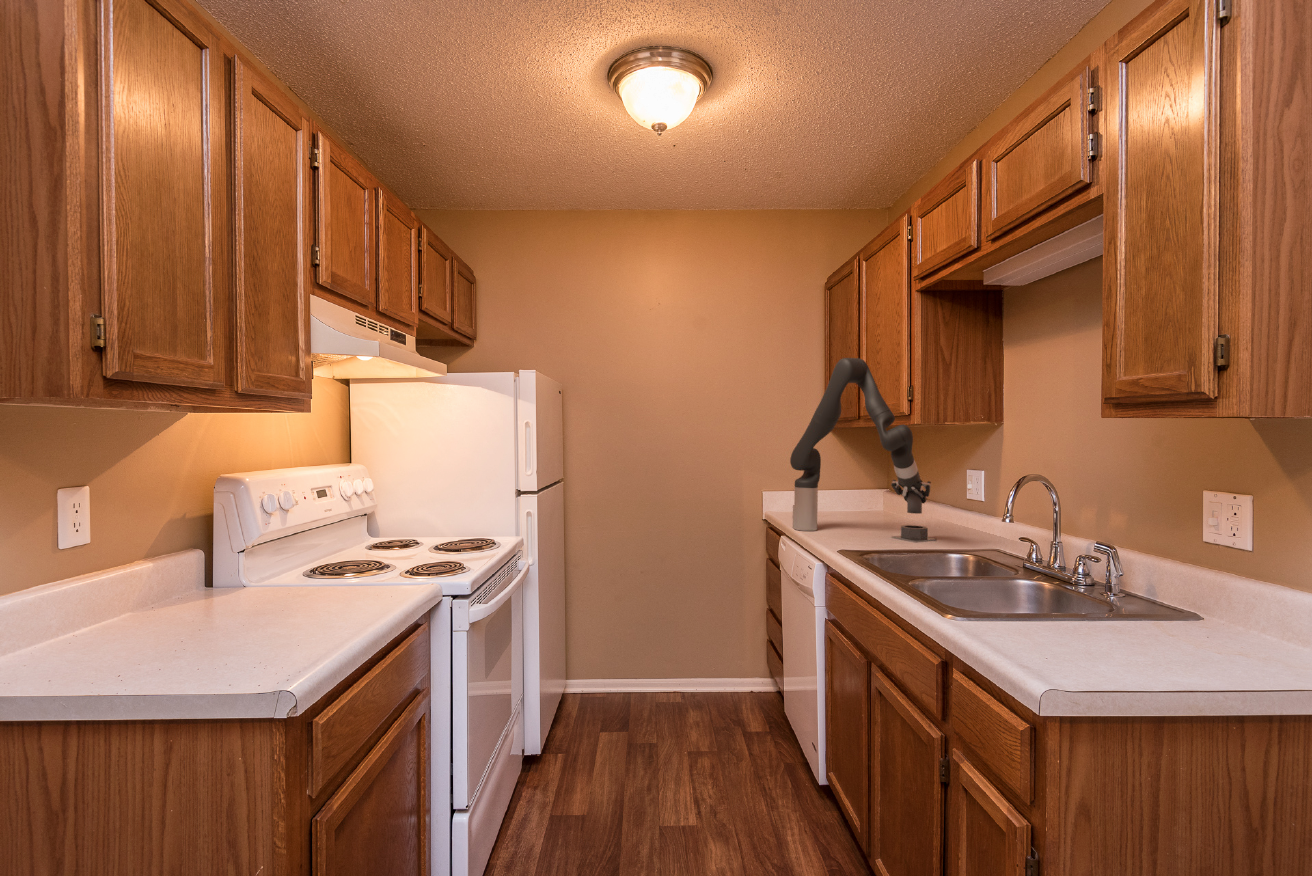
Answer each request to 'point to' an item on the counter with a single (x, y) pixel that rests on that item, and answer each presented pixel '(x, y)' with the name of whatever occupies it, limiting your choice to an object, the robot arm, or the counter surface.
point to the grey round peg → (914, 502)
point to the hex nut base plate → (914, 533)
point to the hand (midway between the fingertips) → (916, 501)
